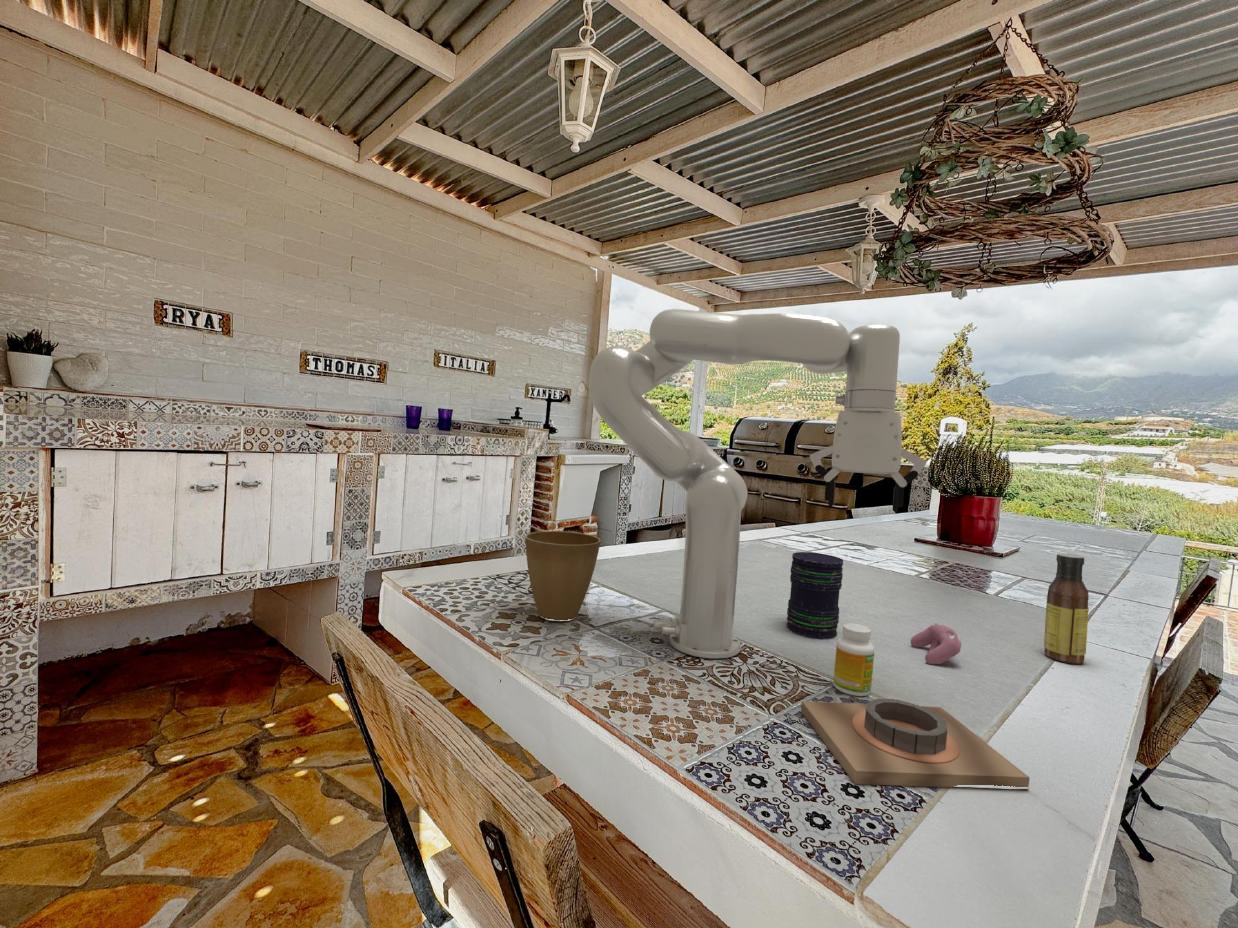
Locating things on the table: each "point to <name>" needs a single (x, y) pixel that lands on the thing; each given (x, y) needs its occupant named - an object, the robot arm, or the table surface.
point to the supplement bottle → (854, 661)
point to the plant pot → (560, 571)
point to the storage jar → (814, 595)
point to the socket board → (905, 770)
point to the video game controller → (937, 643)
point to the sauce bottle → (1067, 612)
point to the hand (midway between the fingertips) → (862, 508)
